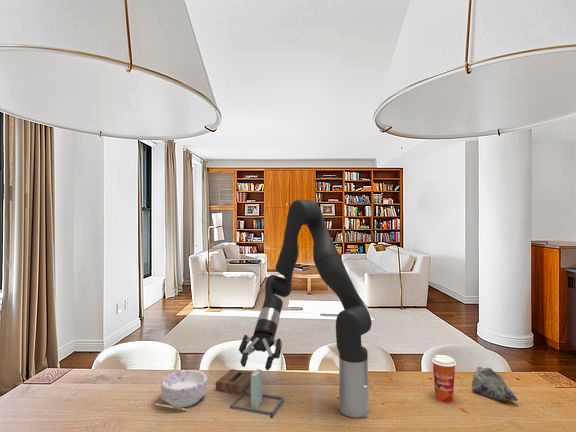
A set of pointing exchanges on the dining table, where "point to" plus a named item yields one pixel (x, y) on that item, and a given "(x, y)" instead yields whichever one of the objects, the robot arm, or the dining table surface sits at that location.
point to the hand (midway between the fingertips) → (254, 367)
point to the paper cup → (444, 377)
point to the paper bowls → (184, 388)
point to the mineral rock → (491, 385)
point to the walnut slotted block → (234, 381)
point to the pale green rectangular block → (256, 388)
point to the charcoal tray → (258, 409)
